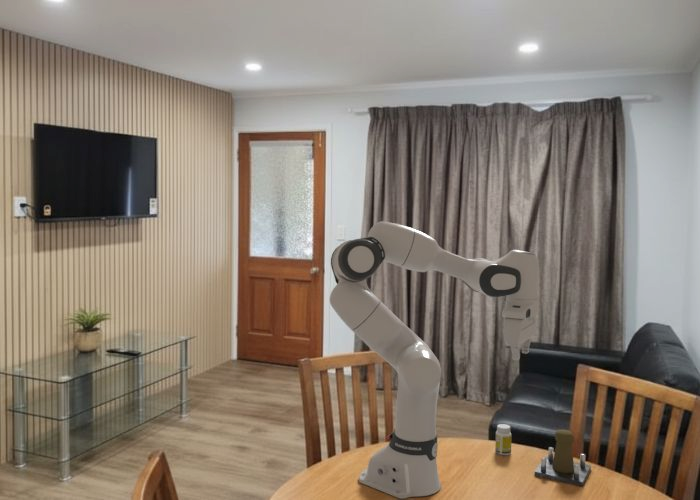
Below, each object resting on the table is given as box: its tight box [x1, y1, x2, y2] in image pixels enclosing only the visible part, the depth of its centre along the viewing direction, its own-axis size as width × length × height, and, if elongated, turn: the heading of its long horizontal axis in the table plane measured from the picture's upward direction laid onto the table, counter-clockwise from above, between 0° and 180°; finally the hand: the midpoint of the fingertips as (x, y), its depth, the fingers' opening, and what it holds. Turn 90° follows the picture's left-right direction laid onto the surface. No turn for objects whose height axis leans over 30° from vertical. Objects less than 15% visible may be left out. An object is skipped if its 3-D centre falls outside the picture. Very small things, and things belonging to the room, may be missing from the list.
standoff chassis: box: [533, 446, 592, 487], centre depth 177 cm, size 13×13×5 cm
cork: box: [552, 429, 575, 473], centre depth 177 cm, size 6×6×11 cm
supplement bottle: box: [495, 423, 512, 456], centre depth 191 cm, size 5×5×8 cm
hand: (520, 356), depth 174 cm, fingers open, 8 cm apart
